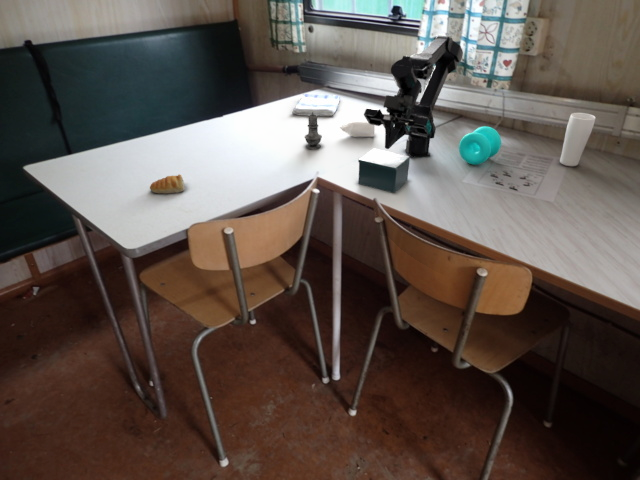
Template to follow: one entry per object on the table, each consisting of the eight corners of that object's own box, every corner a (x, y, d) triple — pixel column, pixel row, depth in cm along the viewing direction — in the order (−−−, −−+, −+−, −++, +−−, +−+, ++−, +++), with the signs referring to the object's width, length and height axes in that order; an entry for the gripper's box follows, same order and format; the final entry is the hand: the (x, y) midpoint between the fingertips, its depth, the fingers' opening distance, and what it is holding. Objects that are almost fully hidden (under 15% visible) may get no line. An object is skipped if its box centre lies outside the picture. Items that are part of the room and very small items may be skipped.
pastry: (151, 197, 126) (148, 184, 124) (150, 187, 132) (147, 175, 130) (186, 192, 129) (183, 179, 127) (184, 182, 134) (181, 170, 132)
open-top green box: (394, 193, 127) (396, 170, 123) (358, 183, 132) (359, 161, 128) (407, 181, 133) (409, 159, 129) (372, 172, 138) (373, 151, 134)
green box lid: (395, 171, 123) (395, 168, 122) (358, 162, 128) (358, 159, 127) (409, 158, 129) (410, 156, 129) (373, 151, 134) (373, 148, 134)
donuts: (455, 161, 145) (459, 130, 139) (470, 151, 151) (475, 122, 145) (484, 169, 139) (491, 138, 133) (499, 159, 145) (505, 129, 140)
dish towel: (291, 115, 185) (291, 108, 183) (302, 98, 204) (302, 92, 203) (333, 117, 182) (333, 110, 181) (341, 99, 202) (341, 93, 200)
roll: (339, 133, 167) (339, 118, 164) (372, 133, 167) (373, 117, 164) (340, 139, 162) (340, 123, 159) (374, 139, 162) (374, 123, 159)
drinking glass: (580, 161, 143) (595, 114, 135) (580, 169, 138) (596, 120, 130) (556, 157, 146) (570, 111, 138) (556, 166, 141) (570, 117, 132)
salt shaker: (320, 150, 153) (319, 115, 147) (303, 149, 154) (301, 114, 148) (323, 144, 158) (323, 109, 152) (306, 143, 159) (305, 108, 153)
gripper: (368, 77, 126) (347, 128, 125) (432, 86, 118) (411, 141, 116) (379, 99, 136) (360, 146, 134) (439, 109, 128) (420, 159, 126)
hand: (386, 148), depth 127 cm, fingers closed
